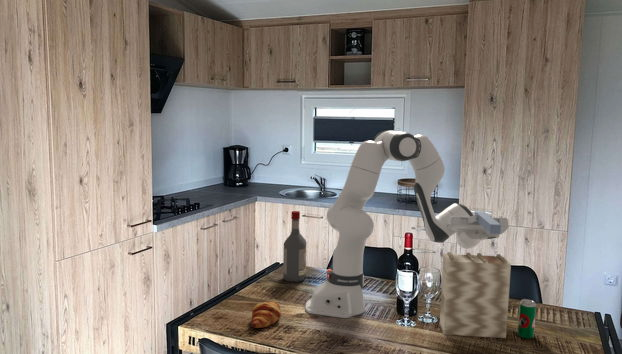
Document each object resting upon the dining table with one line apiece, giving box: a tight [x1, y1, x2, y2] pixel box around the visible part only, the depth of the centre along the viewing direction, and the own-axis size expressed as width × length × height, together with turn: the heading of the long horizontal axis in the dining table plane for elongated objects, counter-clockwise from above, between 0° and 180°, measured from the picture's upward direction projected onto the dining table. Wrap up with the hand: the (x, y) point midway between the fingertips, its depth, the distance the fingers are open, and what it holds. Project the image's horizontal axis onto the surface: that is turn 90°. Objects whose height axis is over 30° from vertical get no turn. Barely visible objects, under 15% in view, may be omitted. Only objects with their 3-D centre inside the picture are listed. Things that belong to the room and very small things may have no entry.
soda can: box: [517, 298, 537, 340], centre depth 166 cm, size 5×5×12 cm
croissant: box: [250, 300, 282, 329], centre depth 175 cm, size 21×10×8 cm, turn 164°
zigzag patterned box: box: [439, 251, 512, 339], centre depth 169 cm, size 20×9×26 cm, turn 84°
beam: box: [474, 210, 501, 235], centre depth 168 cm, size 3×22×3 cm, turn 174°
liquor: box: [282, 210, 307, 283], centre depth 219 cm, size 9×9×30 cm
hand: (482, 217), depth 173 cm, fingers closed on beam, 3 cm apart
